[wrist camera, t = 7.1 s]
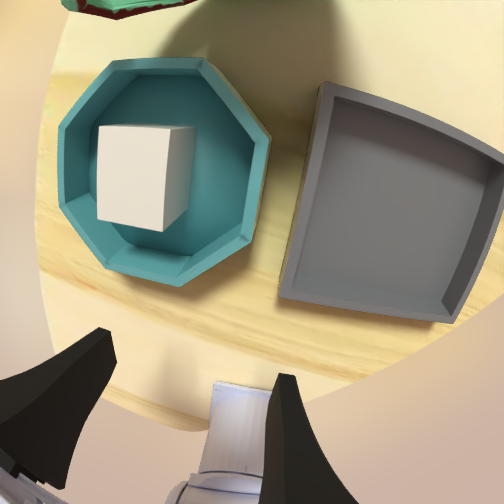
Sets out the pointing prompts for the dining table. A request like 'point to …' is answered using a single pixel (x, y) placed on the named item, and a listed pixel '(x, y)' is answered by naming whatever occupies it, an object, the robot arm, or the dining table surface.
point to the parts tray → (390, 210)
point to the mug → (120, 6)
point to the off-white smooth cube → (144, 173)
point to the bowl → (202, 175)
